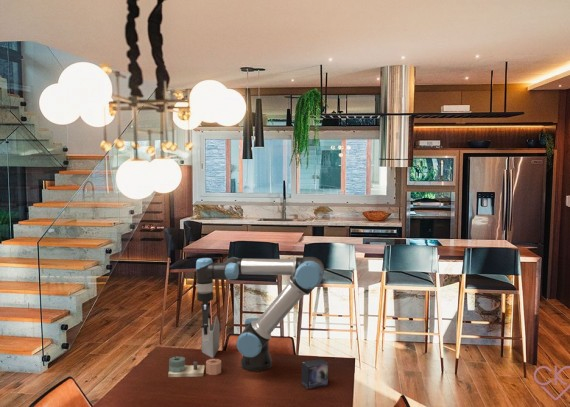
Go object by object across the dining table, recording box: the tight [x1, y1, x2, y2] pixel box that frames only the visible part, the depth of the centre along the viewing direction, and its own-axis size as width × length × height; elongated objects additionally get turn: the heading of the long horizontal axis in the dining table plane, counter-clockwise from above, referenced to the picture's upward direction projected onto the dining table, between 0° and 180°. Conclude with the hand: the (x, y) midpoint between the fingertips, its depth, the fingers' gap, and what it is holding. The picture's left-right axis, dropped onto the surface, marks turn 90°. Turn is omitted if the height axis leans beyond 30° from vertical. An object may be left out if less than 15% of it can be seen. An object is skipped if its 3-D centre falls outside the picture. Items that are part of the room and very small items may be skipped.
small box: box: [300, 358, 329, 390], centre depth 232 cm, size 11×6×10 cm, turn 117°
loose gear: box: [205, 358, 222, 376], centre depth 246 cm, size 7×7×5 cm
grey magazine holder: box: [201, 315, 221, 359], centre depth 272 cm, size 16×8×19 cm, turn 177°
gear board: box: [167, 356, 206, 378], centre depth 245 cm, size 16×10×6 cm, turn 95°
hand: (206, 336), depth 244 cm, fingers open, 13 cm apart
